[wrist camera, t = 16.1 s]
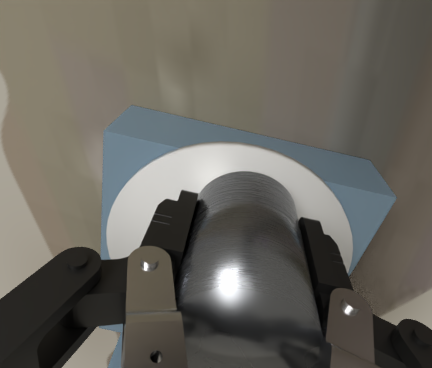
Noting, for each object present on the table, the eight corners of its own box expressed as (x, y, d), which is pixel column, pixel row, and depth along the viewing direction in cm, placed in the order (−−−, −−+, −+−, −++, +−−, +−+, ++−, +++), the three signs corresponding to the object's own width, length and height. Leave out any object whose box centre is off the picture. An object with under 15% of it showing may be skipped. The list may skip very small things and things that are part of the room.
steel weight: (204, 160, 13) (172, 273, 8) (311, 184, 13) (352, 312, 8) (186, 242, 15) (153, 372, 10) (278, 262, 15) (292, 401, 10)
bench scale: (132, 87, 18) (57, 146, 11) (377, 144, 18) (456, 236, 11) (118, 287, 26) (71, 391, 19) (285, 323, 26) (297, 438, 19)
